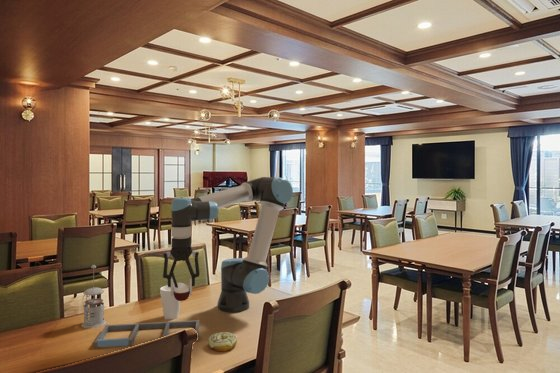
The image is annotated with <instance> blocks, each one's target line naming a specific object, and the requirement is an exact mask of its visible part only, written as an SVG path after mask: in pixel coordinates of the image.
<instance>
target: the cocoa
mask: <svg viewBox="0 0 560 373" xmlns="http://www.w3.org/2000/svg"><path fill="white" fill-rule="evenodd" d="M169 273H171V276H172V277H171V278H172V279H173V285H174V287H173V290H174V297H175V299H176V300H178V301H180V302H183V301H186V300H188V299H189V297H190V285H189V284H185V283H183V282H177V280H176V277H175V276H176V275H175V273H174V271H173V272H172V271H171V272H170V271H169Z"/></svg>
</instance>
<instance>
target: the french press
mask: <svg viewBox="0 0 560 373" xmlns="http://www.w3.org/2000/svg"><path fill="white" fill-rule="evenodd" d="M90 268H91V269H93V271H92V272H93V274H92V276H93V287H91V288H88V289H85V290H84V291H83V297H82V299H84V297H85V296H86V298H85V301H84V303H82V306H83V322H82V324H81V327H82V328H83V329H94V328H101V327H102V326H104V325H105V326H106V325H107V320H105V304H104V303H105V302H103V301H104V299H102V298H98V297H97V298H95V297H94V298H90V297H91V296H98V295H101V294H103V293H104V292H105V289H103V288H101V287H95V269H96V268H97V266H96V265H95V264H92V265H91V267H90ZM88 298H89V299H88Z"/></svg>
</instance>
